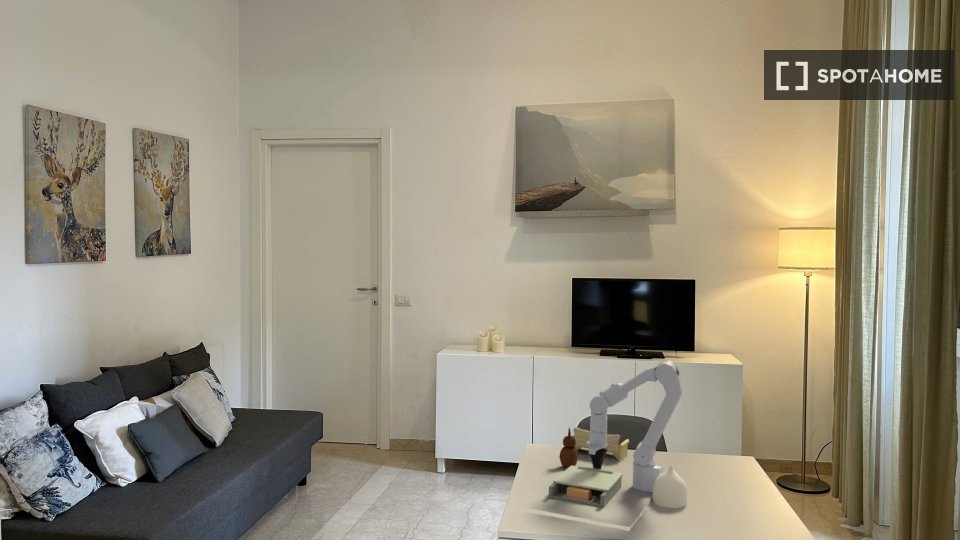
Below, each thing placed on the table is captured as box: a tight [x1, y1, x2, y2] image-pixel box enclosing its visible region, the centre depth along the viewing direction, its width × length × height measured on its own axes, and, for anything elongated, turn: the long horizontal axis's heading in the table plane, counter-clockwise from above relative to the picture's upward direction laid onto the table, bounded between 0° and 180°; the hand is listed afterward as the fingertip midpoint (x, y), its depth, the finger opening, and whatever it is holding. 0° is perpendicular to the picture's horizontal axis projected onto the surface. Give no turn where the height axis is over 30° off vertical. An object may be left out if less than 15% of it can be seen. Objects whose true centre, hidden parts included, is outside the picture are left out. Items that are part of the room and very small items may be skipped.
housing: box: [548, 476, 623, 508], centre depth 248 cm, size 18×21×5 cm
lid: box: [552, 465, 624, 492], centre depth 250 cm, size 18×18×1 cm
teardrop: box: [651, 465, 688, 509], centre depth 244 cm, size 11×11×12 cm
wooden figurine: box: [559, 427, 579, 469], centre depth 277 cm, size 7×6×15 cm
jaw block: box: [567, 486, 591, 501], centre depth 242 cm, size 7×3×3 cm, turn 65°
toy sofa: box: [571, 426, 630, 462], centre depth 295 cm, size 21×9×10 cm, turn 60°
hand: (597, 470), depth 259 cm, fingers closed
